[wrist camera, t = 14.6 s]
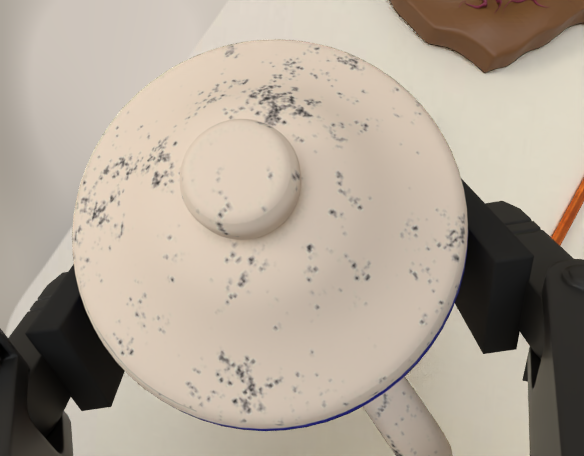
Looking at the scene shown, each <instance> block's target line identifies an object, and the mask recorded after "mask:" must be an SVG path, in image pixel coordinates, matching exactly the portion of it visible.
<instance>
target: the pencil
mask: <svg viewBox="0 0 584 456" xmlns="http://www.w3.org/2000/svg"><path fill="white" fill-rule="evenodd" d="M583 202H584V179H583V181H582V182H581V184H580V186H579V188H578V190H577V192H576V193H575V195H574V197H573V199H572V201H571V203H570V205H569V206H568V208H567V210H566V212H565V214H564V216H563V218H562V219H561V221H560V223H559V225H558V227H557V229H556V230H555V232H554V234H553V236H552V239H553V240H554V241H555V242H556V243H557V244H558V245H559V246H560V245H561V243H562V241H563V239H564V237H565V236H566V234H567V232H568V230H569V228H570V226H571V224H572V223H573V221H574V219H575V217H576V215H577V213H578V211H579V209H580V208H581V206H582V204H583Z"/></svg>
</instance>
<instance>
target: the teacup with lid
mask: <svg viewBox="0 0 584 456" xmlns="http://www.w3.org/2000/svg"><path fill="white" fill-rule="evenodd" d="M467 246H468V220H467V206H466V200H465V193H464V188H463V184H462V180H461V177H460V173H459V169H458V167H457V164H456V162H455V159H454V157H453V154H452V152H451V150H450V148H449V146H448V144H447V142H446V140H445V138H444V136H443V134H442V133H441V131H440V129H439V128H438V126H437V125H436V123H435V122H434V120H433V119H432V118H431V116H430V115H429V114H428V113H427V111H426V110H425V109H424V107H423V106H422V105H421V104H420V103H419V102H418V101H417V100H416V99H415V98H414V97H413V96H412V95H411V94H410V93H409V92H408V91H407V90H406V89H405V88H404V87H403V86H401V85H400V84H399V83H398V82H397V81H395V80H394V79H393V78H391V77H390V76H388V75H387V74H386V73H384V72H383V71H381V70H380V69H378V68H377V67H375V66H373V65H371V64H369V63H368V62H366V61H364V60H362V59H360V58H358V57H355V56H353V55H351V54H349V53H346V52H343V51H340V50H337V49H334V48H332V47H328V46H324V45H320V44H315V43H310V42H303V41H296V40H280V39H278V40H256V41H247V42H241V43H236V44H231V45H227V46H223V47H220V48H216V49H213V50H210V51H207V52H205V53H202V54H199V55H197V56H194V57H192V58H190V59H188V60H186V61H184V62H182V63H180V64H178V65H176V66H175V67H173V68H171V69H170V70H168V71H166V72H165V73H163V74H162V75H160V76H159V77H157V78H156V79H155V80H153V81H152V82H150V83H149V84H148V85H147V86H146V87H144V88H143V89H142V90H141V91H140V92H138V93H137V94H136V95H135V96H134V97H133V98H132V99H131V100H130V101H129V102H128V103H127V104H126V105H125V106H124V107H123V109H122V110H121V111H120V112H119V113H118V115H117V116H116V117H115V118H114V119H113V121H112V122H111V124H110V125H109V126H108V128H107V129H106V131H105V132H104V134H103V135H102V137H101V139H100V140H99V142H98V144H97V146H96V147H95V149H94V151H93V153H92V155H91V158H90V160H89V162H88V164H87V166H86V169H85V172H84V175H83V178H82V180H81V184H80V187H79V191H78V195H77V199H76V204H75V210H74V217H73V230H72V247H73V260H74V268H75V275H76V279H77V284H78V288H79V292H80V295H81V298H82V301H83V304H84V307H85V310H86V312H87V314H88V317H89V319H90V321H91V323H92V325H93V327H94V329H95V331H96V333H97V334H98V336H99V338H100V339H101V341H102V343H103V345H104V346H105V347H106V349H107V350H108V351H109V353H110V354H111V355H112V357H113V358H114V359H115V361H116V362H117V363H118V364H119V365H120V366H121V367H122V368H123V369H124V370H125V372H126V373H127V374H128V375H129V376H130V377H132V378H133V379H134V380H135V381H136V382H137V383H138V384H140V385H141V386H142V387H143V388H144V389H146V390H147V391H148V392H150V393H151V394H153V395H154V396H156V397H157V398H159V399H160V400H162V401H163V402H165V403H167V404H169V405H171V406H172V407H174V408H176V409H178V410H180V411H182V412H184V413H186V414H188V415H191V416H193V417H196V418H198V419H201V420H203V421H207V422H210V423H214V424H217V425H220V426H225V427H231V428H236V429H242V430H256V431H278V430H290V429H297V428H303V427H309V426H312V425H316V424H320V423H324V422H328V421H330V420H333V419H336V418H338V417H341V416H344V415H346V414H349V413H351V412H353V411H355V410H357V409H359V408H361V407H362V406H363V408H364V409H365V411H366V412H367V414H368V415H369V417H370V418H371V420H372V421H373V423H374V424H375V426H376V427H377V428H378V430H379V431H380V433H381V434H382V436H383V437H384V439H385V440H386V442H387V443H388V445H389V446H390V448H391V449H392V450H393V452H394V453H395V455H396V456H452V450H451V446H450V444H449V442H448V440H447V438H446V437H445V435H444V433H443V432H442V430H441V429H440V427H439V425H438V424H437V422H436V421H435V419H434V418H433V416H432V415H431V413H430V412H429V411H428V409H427V408H426V406H425V405H424V403H423V402H422V400H421V399H420V398H419V396H418V395H417V393H416V392H415V391H414V389H413V388H412V386H411V385H410V384H409V382H408V381H407V379H406V378H405V375H406V374H407V373H408V372H409V371H410V370H411V369H412V368H413V367H414V366H415V365H416V364H417V363H418V362H419V361H420V360H421V358H422V357H423V356H424V355H425V354H426V352H427V351H428V350H429V349H430V347H431V346H432V344H433V343H434V341H435V340H436V338H437V337H438V335H439V333H440V332H441V330H442V329H443V327H444V325H445V323H446V321H447V319H448V317H449V315H450V313H451V311H452V308H453V306H454V303H455V301H456V298H457V295H458V293H459V289H460V286H461V282H462V278H463V274H464V270H465V263H466V256H467Z"/></svg>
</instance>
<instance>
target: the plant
mask: <svg viewBox="0 0 584 456" xmlns="http://www.w3.org/2000/svg"><path fill="white" fill-rule="evenodd" d="M390 1H391V3H392V5H393V7H394V9H395V10H396V11H397V13H398V14H399V15H400V16H401V17H402V18H403V19H404V20H405V21H406V22H407V23H408V24H409V25H410V26H411V27H412V28H413V29H414V30H415V31H416V32H417V33H418V34H419V36H420V37H421V38H422V39H423V40H425V41H426V42H427V43H429V44H433V45H439V46H444V47H448V48H451V49H453V50H455V51H457V52H459V53H460V54H462V55H463V56H465V57H466V58H467V59H469V60H470V61H471V62H473V63H474V64H475V65H477V66H478V67H479V68H480V69H481V70H482V71H484V72H485V73H486V72H489V71H491V70H493V69H497V68H501V67H506V66H508V65H509V64H511V63H512V62H514V61H515V60H516V59H517V58H518V57H520V56H521V55H523V54H524V53H526V52H528V51H530V50H533V49H536V48H540V47H542V46H544V45H545V44H547V43H548V42H550V41H551V40H552V39H553V38H555V37H556V36H558V35H559V34H560V33H561V32H563V31H564V30H565V29H566V28H568V27H570V26H572V25H575V24H578V23H584V0H390Z"/></svg>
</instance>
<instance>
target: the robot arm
mask: <svg viewBox="0 0 584 456" xmlns="http://www.w3.org/2000/svg"><path fill="white" fill-rule="evenodd" d="M461 180H462V179H461ZM462 184H463V188H464V193H465V200H466V206H467V220H468V246H467V256H466V263H465V270H464V274H463V278H462V282H461V286H460V289H459V293H458V295H457V298H456V301H455V304H456V306H457V308H458V310H459V311H460V313H461V315H462V317H463V319H464V320H465V322H466V324H467V326H468V327H469V329H470V331H471V333H472V335H473V336H474V338H475V340H476V342H477V344H478V345H479V347H480V349H481V351H482V352H483V354H486V353H493V352H500V351H507V350H514V349H516V348H517V342H518V337H519V332H521V334H522V335H523V337H524V338H525V340H526V341H527V342H528V344H529V345H530V348H529V353H528V358H527V362H526V367H525V371H524V376H523V381H528V403H529V439H530V456H584V260H582V259H573V258H572V257H571V256H570V255H569V254H568V253H567V252H566V251H565V250H564V249H563V248H562V247H561V246H559V245H558V244H557V243H556V242H555V241H554V240H553V239H552V238H551V237H550V236H549V235H548V234H547V233H545V232H544V231H543V230H541V229H540V227H539V226H538V225H537V224H536V223H535V222H534V221H531V219H530V218H529V217H528V216H527V215H526V214H525V213H524V212H523V211H522V210H521V209H519V208H517V207H515V206H513V205H511V204H508V203H506V202H504V201H499V202H492V203H486V204H485V203H484V202H483V201H482V200H481V199H480V198H479V197H478V196H477V195H476V194H475V193H474V191H473V190H472V189H471V188H470V187H469V186H468V185H467V184H466V183H465V182H464V181H463V180H462ZM124 371H125V370H124V369H123V368H122V367H121V366H120V365H119V364H118V363H117V362H116V361H115V359H114V358H113V357H112V355H111V354H110V353H109V351H108V350H107V349H106V347H105V346H104V345H103V343H102V341H101V339H100V338H99V336H98V334H97V333H96V331H95V329H94V327H93V325H92V323H91V321H90V319H89V317H88V314H87V312H86V310H85V307H84V304H83V301H82V298H81V295H80V292H79V288H78V284H77V279H76V275H75V268H74V264H73V266H72V267H71V269H70V270H69V272H65V273H62V274H61V275H59V276H58V277H57V278H56V279H54V280H53V281H52V282H51V283H50V284H48V285H47V287H46V288H45V289H44V291H43V292H42V293H41V295H40V296H39V297H38V301H36V302H35V303H34V304H33V306H32V307H31V308H30V312H27V314H26V315H25V316H24V318H23V319H22V321H21V322H20V323H19V325H18V326H17V327H16V329H15V330H14V331H13V333H12V334H11V335H10V337H9V338H7V336H6V335H5V334H4V333H3V331H2V330H1V329H0V456H73V447H72V431H71V422H70V419H69V417H68V415H67V414H66V413H65V412H64V409H65V407H66V405H67V403H68V401H69V399H70V397H72V399H73V400H74V401H75V403H76V404H77V405H78V407H79V408H80V409H81V411H84V410H91V409H98V408H105V407H111V406H112V403H113V400H114V398H115V395H116V392H117V390H118V387H119V384H120V382H121V379H122V377H123V374H124Z"/></svg>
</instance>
